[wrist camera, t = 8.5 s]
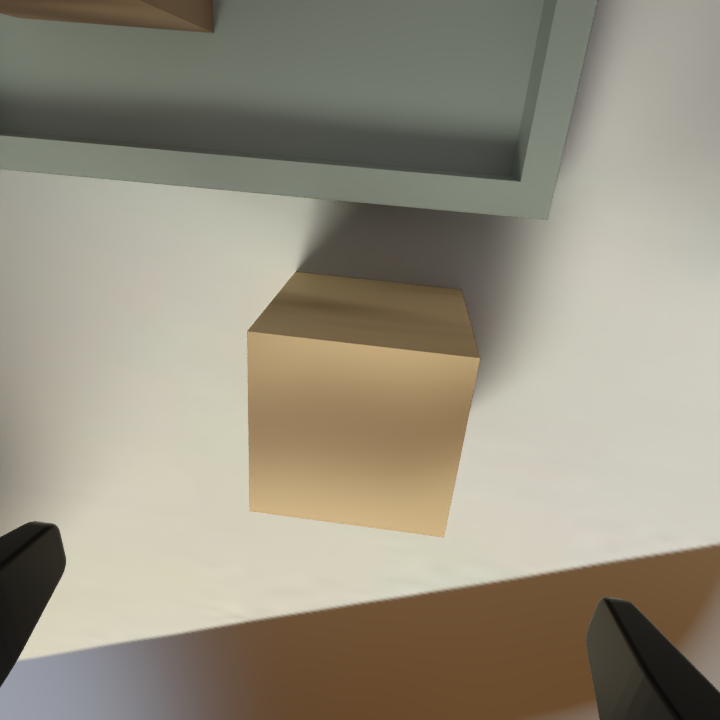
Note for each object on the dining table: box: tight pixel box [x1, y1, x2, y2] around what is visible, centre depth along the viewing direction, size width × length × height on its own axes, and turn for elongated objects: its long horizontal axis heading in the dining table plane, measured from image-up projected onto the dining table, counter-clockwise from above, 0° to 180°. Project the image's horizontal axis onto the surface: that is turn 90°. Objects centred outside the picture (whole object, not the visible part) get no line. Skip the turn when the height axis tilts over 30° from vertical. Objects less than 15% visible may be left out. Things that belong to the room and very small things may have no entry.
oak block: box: [247, 272, 480, 537], centre depth 14 cm, size 5×5×5 cm
